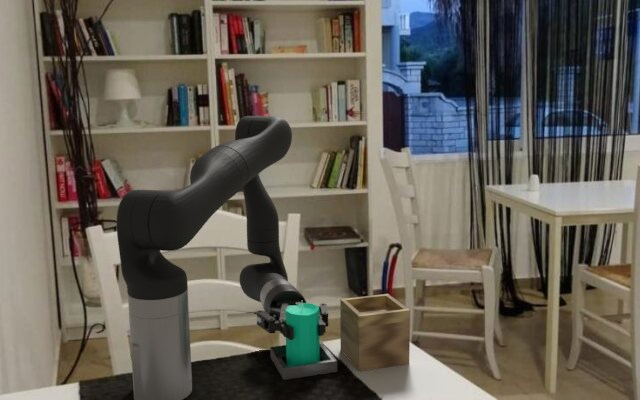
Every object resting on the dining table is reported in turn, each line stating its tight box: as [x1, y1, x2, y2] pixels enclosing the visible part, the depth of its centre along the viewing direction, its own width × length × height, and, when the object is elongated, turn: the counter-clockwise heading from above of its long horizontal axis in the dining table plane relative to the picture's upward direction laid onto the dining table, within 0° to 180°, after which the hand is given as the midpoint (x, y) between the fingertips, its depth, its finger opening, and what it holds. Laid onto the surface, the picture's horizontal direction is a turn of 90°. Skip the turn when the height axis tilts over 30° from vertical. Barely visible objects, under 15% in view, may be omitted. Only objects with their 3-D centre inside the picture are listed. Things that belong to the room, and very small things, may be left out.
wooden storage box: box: [339, 293, 411, 372], centre depth 115 cm, size 10×10×10 cm
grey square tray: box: [269, 340, 338, 381], centre depth 112 cm, size 10×10×2 cm
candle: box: [285, 301, 321, 366], centre depth 111 cm, size 6×6×12 cm
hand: (306, 332), depth 109 cm, fingers closed on candle, 5 cm apart
